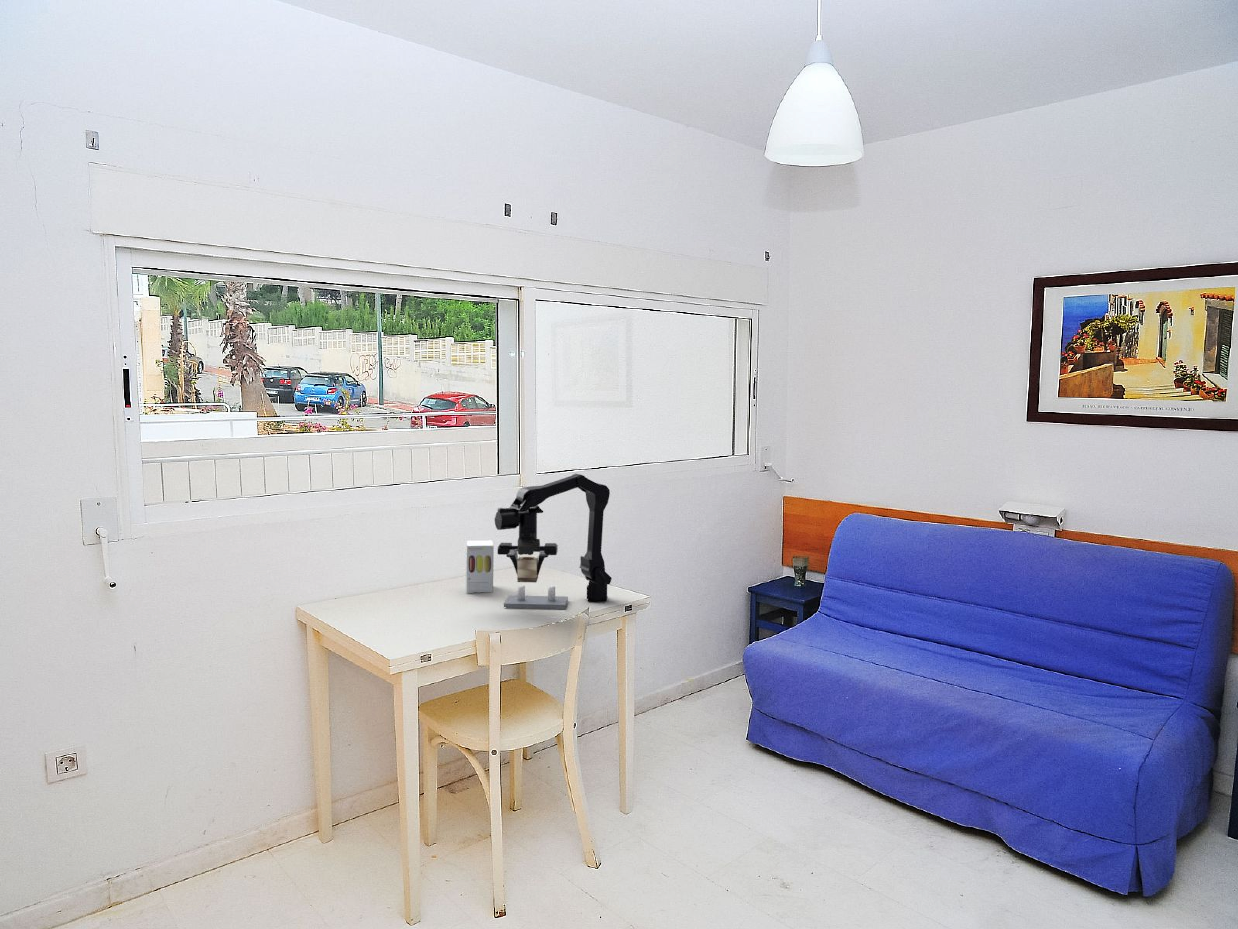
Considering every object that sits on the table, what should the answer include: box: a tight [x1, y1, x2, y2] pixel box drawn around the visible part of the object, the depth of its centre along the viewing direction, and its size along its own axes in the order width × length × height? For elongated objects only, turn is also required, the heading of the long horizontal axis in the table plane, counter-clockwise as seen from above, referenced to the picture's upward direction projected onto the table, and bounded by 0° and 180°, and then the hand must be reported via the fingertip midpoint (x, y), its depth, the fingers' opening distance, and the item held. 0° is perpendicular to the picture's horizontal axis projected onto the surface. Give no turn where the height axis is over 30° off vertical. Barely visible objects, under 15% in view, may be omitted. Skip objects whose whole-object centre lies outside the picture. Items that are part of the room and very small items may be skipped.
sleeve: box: [516, 555, 539, 583], centre depth 260 cm, size 6×6×7 cm
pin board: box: [503, 584, 569, 610], centre depth 267 cm, size 20×10×6 cm, turn 89°
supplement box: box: [465, 540, 495, 594], centre depth 284 cm, size 10×9×17 cm
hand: (527, 575), depth 260 cm, fingers closed on sleeve, 6 cm apart
